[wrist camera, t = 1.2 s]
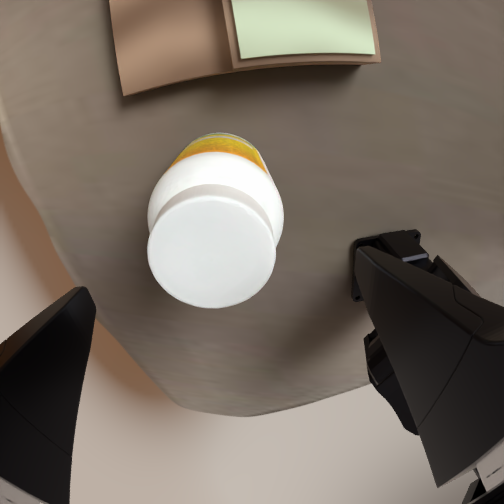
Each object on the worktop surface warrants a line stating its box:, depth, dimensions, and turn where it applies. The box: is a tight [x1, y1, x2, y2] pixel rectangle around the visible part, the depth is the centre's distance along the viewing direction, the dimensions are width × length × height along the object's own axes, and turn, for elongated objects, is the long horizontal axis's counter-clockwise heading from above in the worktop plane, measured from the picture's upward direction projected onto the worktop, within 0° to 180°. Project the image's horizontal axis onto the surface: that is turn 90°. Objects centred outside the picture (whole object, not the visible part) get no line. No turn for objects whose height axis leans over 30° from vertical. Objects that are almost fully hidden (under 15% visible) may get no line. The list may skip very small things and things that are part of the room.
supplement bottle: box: [147, 133, 284, 308], centre depth 16 cm, size 6×6×11 cm
